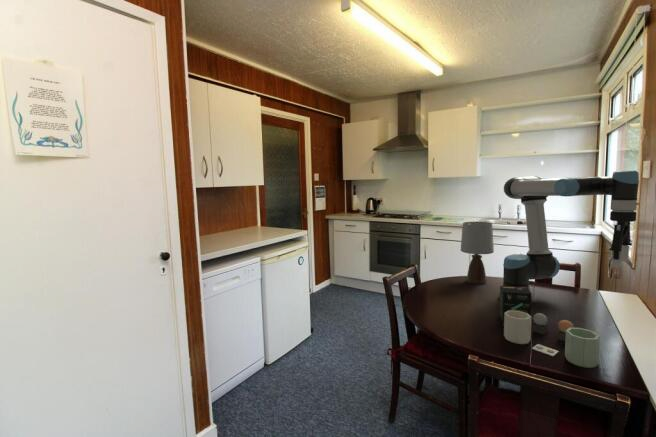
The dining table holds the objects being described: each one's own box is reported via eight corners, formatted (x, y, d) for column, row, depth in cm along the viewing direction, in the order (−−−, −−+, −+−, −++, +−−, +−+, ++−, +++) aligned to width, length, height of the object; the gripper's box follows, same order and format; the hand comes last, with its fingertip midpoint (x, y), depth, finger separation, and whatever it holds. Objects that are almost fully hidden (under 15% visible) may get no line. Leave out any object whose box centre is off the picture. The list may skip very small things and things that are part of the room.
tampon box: (525, 317, 149) (526, 286, 147) (531, 326, 140) (532, 293, 139) (499, 315, 152) (499, 285, 151) (502, 323, 144) (503, 291, 142)
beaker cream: (500, 338, 131) (501, 314, 130) (510, 331, 136) (511, 308, 135) (523, 346, 124) (524, 321, 123) (533, 339, 129) (534, 315, 128)
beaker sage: (561, 359, 114) (562, 332, 113) (570, 351, 119) (572, 325, 118) (592, 370, 107) (593, 341, 106) (600, 361, 112) (602, 333, 111)
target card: (531, 348, 122) (531, 347, 122) (537, 344, 125) (537, 343, 125) (553, 356, 116) (553, 355, 116) (558, 351, 119) (558, 350, 119)
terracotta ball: (555, 332, 128) (556, 320, 128) (560, 328, 131) (561, 316, 130) (570, 337, 124) (571, 324, 124) (575, 333, 127) (576, 320, 126)
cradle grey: (532, 331, 136) (533, 324, 135) (536, 328, 138) (537, 321, 137) (543, 334, 132) (543, 327, 132) (546, 331, 135) (547, 324, 134)
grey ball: (530, 324, 135) (531, 313, 135) (536, 321, 138) (536, 310, 138) (544, 329, 131) (544, 317, 131) (549, 325, 134) (549, 313, 134)
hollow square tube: (557, 339, 128) (558, 331, 128) (561, 336, 130) (561, 329, 130) (569, 342, 125) (569, 335, 125) (572, 339, 127) (573, 332, 127)
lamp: (500, 284, 197) (501, 223, 193) (475, 288, 191) (476, 225, 187) (477, 276, 214) (478, 220, 210) (453, 279, 209) (454, 222, 205)
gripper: (629, 214, 116) (625, 272, 118) (642, 208, 131) (638, 260, 134) (602, 213, 121) (599, 268, 124) (617, 208, 137) (614, 257, 139)
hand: (619, 264), depth 129 cm, fingers open, 13 cm apart
